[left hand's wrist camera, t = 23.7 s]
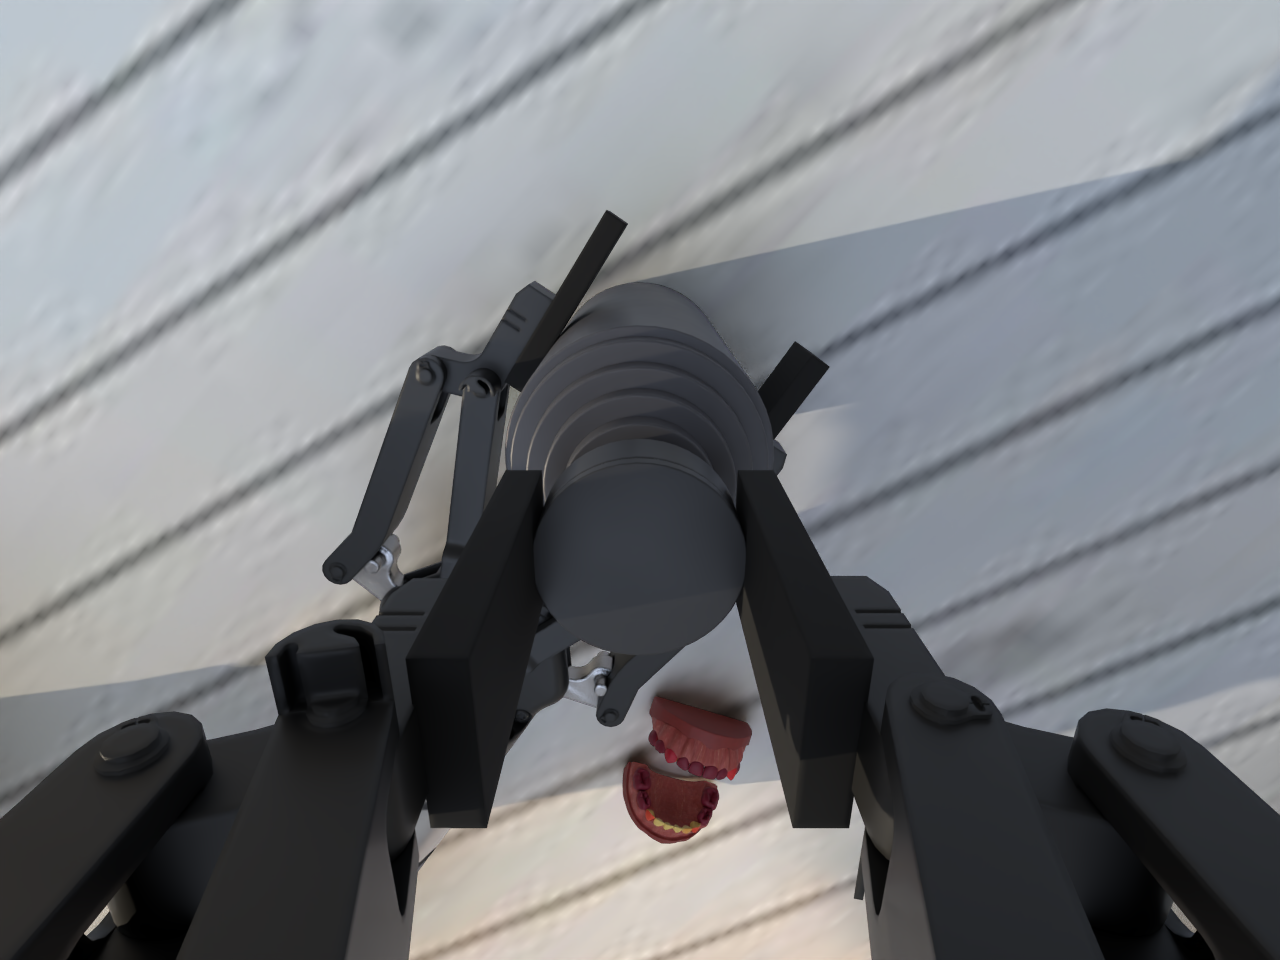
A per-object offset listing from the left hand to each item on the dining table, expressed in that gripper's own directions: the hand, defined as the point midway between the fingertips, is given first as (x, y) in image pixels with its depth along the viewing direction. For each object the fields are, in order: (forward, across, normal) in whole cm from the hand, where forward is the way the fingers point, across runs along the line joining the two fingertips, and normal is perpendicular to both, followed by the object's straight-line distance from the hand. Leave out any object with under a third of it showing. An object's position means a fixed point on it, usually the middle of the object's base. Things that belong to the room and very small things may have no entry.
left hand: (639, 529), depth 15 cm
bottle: (+17, 0, 0) cm, 17 cm away
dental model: (+17, -2, +22) cm, 28 cm away
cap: (-1, 0, 0) cm, 1 cm away
